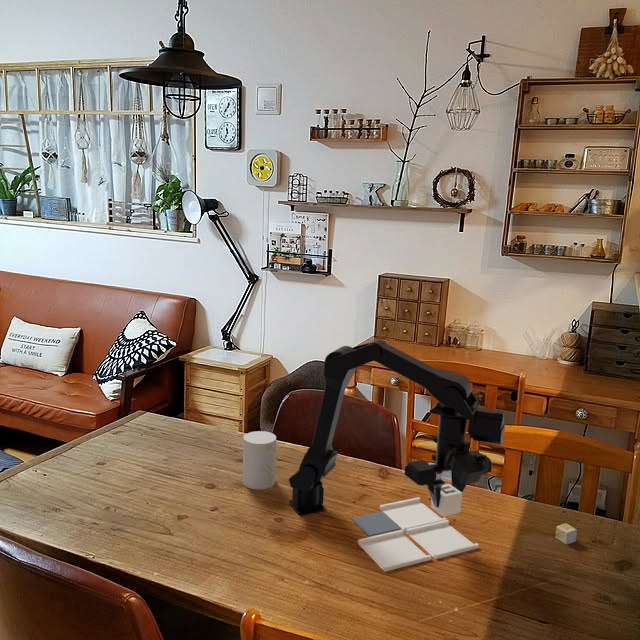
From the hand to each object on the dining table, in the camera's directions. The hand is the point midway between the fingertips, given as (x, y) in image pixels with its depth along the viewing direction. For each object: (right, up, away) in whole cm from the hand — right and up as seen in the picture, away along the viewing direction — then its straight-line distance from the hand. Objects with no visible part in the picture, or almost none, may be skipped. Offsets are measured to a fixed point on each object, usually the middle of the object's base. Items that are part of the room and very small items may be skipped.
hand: (445, 504), depth 137 cm
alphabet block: (+27, -9, +4) cm, 29 cm away
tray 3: (-1, -8, +2) cm, 9 cm away
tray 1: (-5, -6, +12) cm, 14 cm away
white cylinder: (-42, -2, +26) cm, 49 cm away
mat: (-14, -7, +7) cm, 18 cm away
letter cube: (0, -1, 0) cm, 1 cm away
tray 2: (-11, -9, -3) cm, 15 cm away
